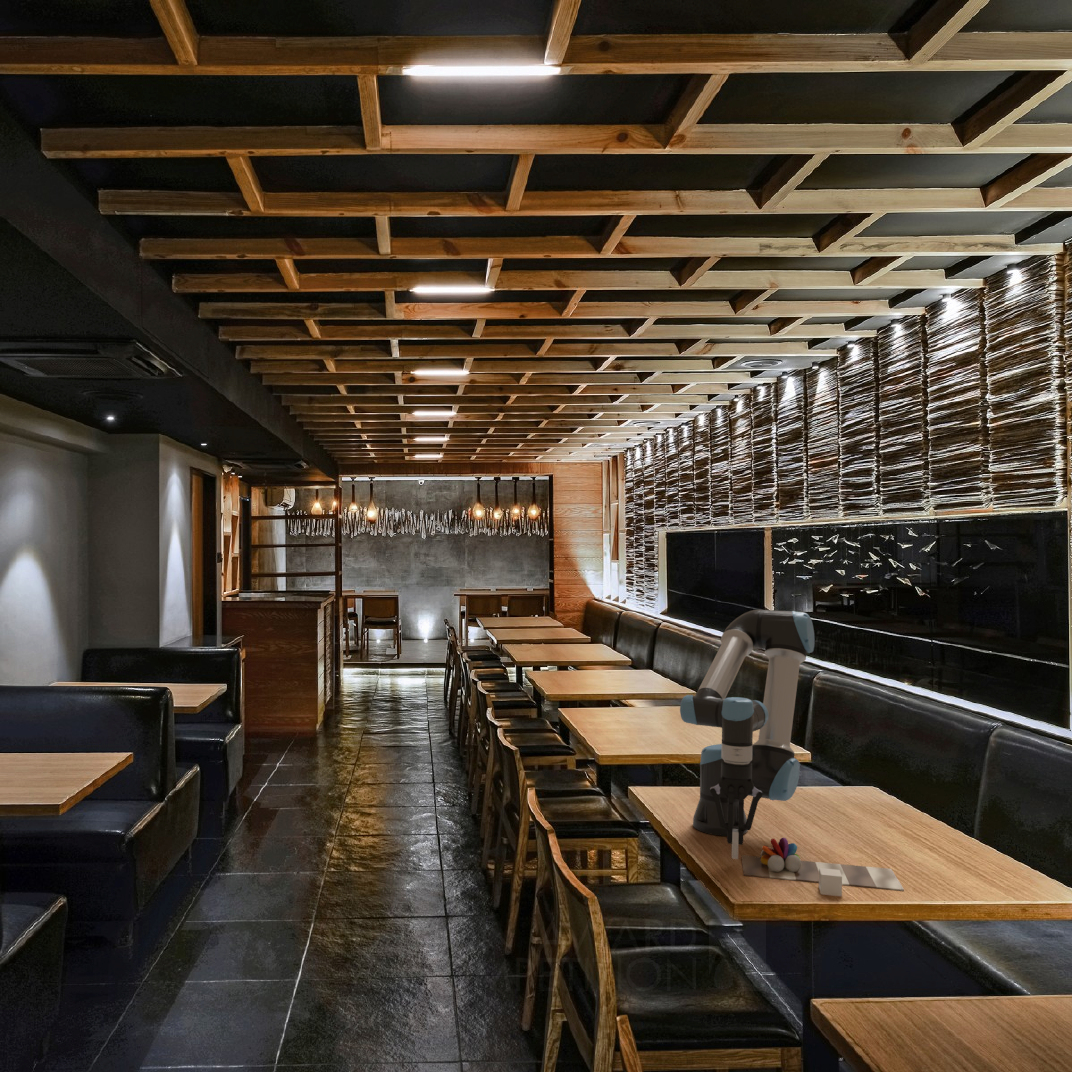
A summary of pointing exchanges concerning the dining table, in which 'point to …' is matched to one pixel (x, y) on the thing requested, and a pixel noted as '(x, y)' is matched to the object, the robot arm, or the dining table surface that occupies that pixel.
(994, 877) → the dining table surface
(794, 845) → the rainbow segmented toy
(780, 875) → the striped mat
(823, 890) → the cube
